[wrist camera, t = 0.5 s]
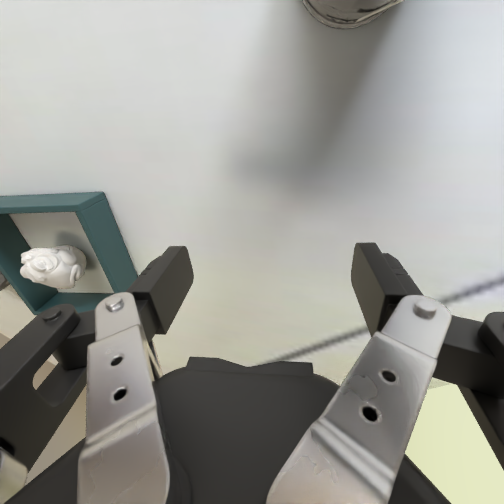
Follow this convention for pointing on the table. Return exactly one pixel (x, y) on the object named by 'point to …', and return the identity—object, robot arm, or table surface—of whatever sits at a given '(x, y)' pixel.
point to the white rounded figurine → (54, 266)
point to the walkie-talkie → (3, 281)
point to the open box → (97, 230)
